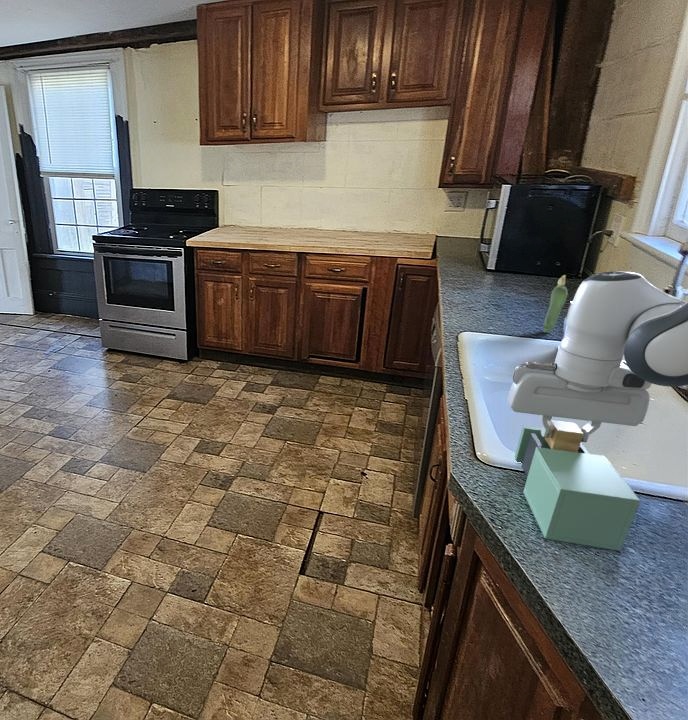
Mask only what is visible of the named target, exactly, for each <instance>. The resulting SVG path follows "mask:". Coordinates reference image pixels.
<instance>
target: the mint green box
mask: <svg viewBox="0 0 688 720" xmlns="http://www.w3.org/2000/svg"><path fill="white" fill-rule="evenodd" d="M522 491H523V492H522V494H523V495H524V497H525V499H526V502H527V503H528V506H529V508H530V510H531V512H532V514H533V516H534V518H535V520H536V522H537V525H538V527H539V529H540V531H541V533H542V535H543V537H544V539H546V540H552V541H557V542H562V543H563V542H564V543H570V544H576V545H582V546H588V547H592V548H593V547H594V548H600V549H605V550H611V551H619V552H621V551H622V548H623V546H624V544H625V541H626V538H627V536H628V533H629V531H630V529H631V525H632V523H633V520H634V518H635V516H636V513H637V512H638V511H637V510H638V508H639V505H640V503H641V499H640V498H639V497H638V495H637V494H636V493H635V492H634V491H633V489H632V488H631V486H630V485H629V484H628V482H626V481H625V479H624V478H623V477H622V476H621V474H620V473H619V472H618V470H617V468H615V466H614V465H613V464H612V463H611V462H610V460H609V459H608V458H607V456H605V455H600V454H593V453H589V454H586V453H578V452H570V451H563V450H555V449H547V448H540V447H536V449H535V453H534V456H533V460H532V463H531V467H530V470H529V474H528V477H527V476H526V481H525V485H524V487H523V490H522Z"/></svg>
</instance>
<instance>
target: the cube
mask: <svg viewBox="0 0 688 720" xmlns="http://www.w3.org/2000/svg"><path fill="white" fill-rule="evenodd" d="M548 425H551V426H552V427H553V429H554V430H555V431H554V434H553V437H552V438H547V437H545V440H546V441H547V443H548V445H549V446H550V448H551V449H555V450H563V451H570V452H578V449H579V446H580V443H582V442H581V440H582V437H583V432H582V431H581V430H580V429H581V428H580V427H579V426H578V424H577V423H576V422H572V421H562V420H555V419H551V421H549V423H548Z"/></svg>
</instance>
